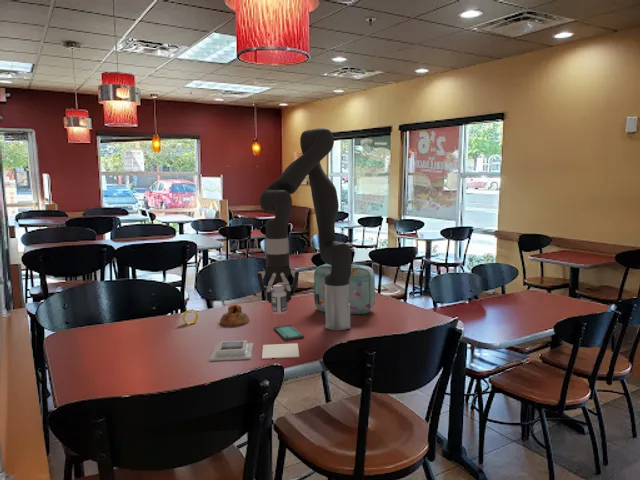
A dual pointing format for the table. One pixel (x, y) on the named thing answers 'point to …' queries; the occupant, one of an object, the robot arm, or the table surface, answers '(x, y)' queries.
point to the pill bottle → (279, 300)
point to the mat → (280, 351)
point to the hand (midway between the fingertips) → (279, 301)
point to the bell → (234, 317)
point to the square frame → (232, 350)
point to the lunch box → (358, 288)
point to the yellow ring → (190, 311)
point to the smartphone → (288, 332)
